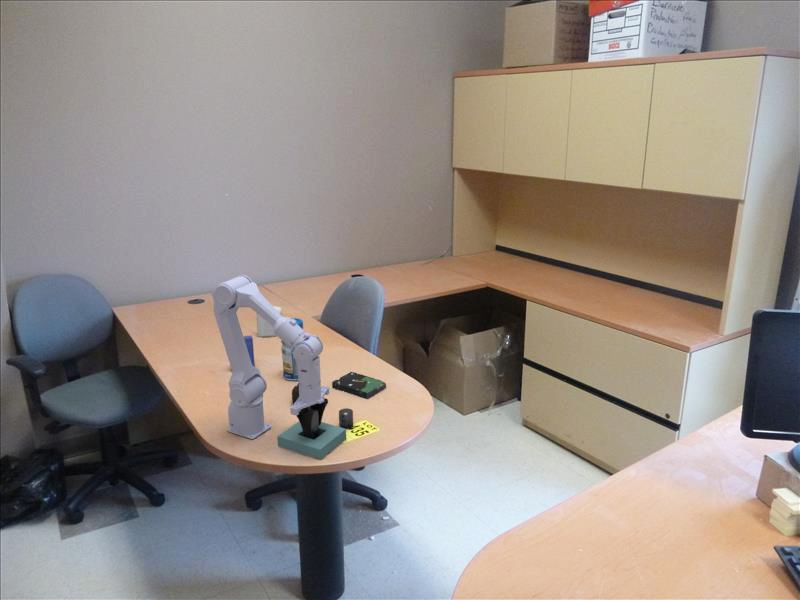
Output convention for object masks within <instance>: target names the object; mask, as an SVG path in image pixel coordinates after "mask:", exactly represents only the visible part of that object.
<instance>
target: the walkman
mask: <svg viewBox="0 0 800 600" xmlns="http://www.w3.org/2000/svg"><path fill="white" fill-rule="evenodd" d="M243 337H244V340H245V343H246V346H247V350H248V353H249V356H250V359H251V363H252V366H254V367H256V366H255V355H254V338H253V336H252V335H249V334H247V335H246V334H245V335H243Z"/></svg>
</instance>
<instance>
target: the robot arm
mask: <svg viewBox="0 0 800 600" xmlns="http://www.w3.org/2000/svg"><path fill="white" fill-rule="evenodd" d="M211 296H212V299H213V313H214V318H215V320H216V324H217V327H218V330H219V333H220V337H221V340H222V343H223V347H224V349H225V352H226V356H227V359H228V361H229V365H230V369H231V376H230V377H229V380H228V385H229V398H230V402H229V404H228V408H227V415H228V425H229V428H228V429H227V432H229V433H232V434H234V435H238V436H241V437H244V438H248V439H250V440H254V439H256V438H257V437H259V436H261V435H262V434H263V433H265V432H266V431H268V430H269V429H272V425H271V424H267V423H265V413H264V399H263V398H264V393H265V392H266V390H267V386H268V385H267V381H266V379H265V378H264V377H263V375H262V373H261V371H260V369H259V368H257V366H255V367H254V366H252V363H251V359H250V356H249V353H248V350H247V346H246V343H245V340H244V337H243V336H244V334H243V331H242V327H241V324H240V321H239V318H238V314H237V312H238V310H239V309H240V308H250V309H251V310H252V311H254V312H255V313H256V314H257V313H258V314H259V315H260V316H261V317H263V318H264V319H265V320H266V321H267V322H269V323H270V324H271V325H272V326H273V327H274V333H275V334H276V335H277V336H276V337H278V338H279V339H280V341H281V340H282V341H283V342H284V343H285V344H286V345H287V346H288V347H289V348H291V349H292V350H293V352H292V354H293V357H294V359H295V360H296V361H297V367H298V379H299V380H298V383H299V398H298V399H297V400H296V402H295V403H294V405H293V404H292V405H291V406H290V408H289V410H290V411H289V412H290V415H293V416H296V418H297V419H298V422H299V421H300V424H301V427H302V429H303V432H307V433H310V432H311V421H312V416H313V413H314V411H312V410H309V408H308V407H309V406H314V407H317V408H318V416H319V425H321V422H322V419H323V417H324V416H323V415H324V412H325V409H326V407H327V406H328V404H329V399H328V398H325V396H329V394H330V387H329V386H325V385H323V386H322V384H321V383H322V382H321V381H322V380H321V363H320V362H321V359H320V357H321V356H320V355H321V354H322V352H323V349H324V345H323V342H322V339H320V338H319V336H317V335H315V334H311V333H309V332H307V331H305V330H304V328H303V329H302V328H301V327H300V326H299V325H297V324H296V321H295V320H294V319H291V318H292V317H288V316H283V315H282V316H283V317H282V316H281V314H280V313H279V312H278V311H277V310H276V309H275V308H274V307H273V306H274V305H272V304H271V303H270V301H268V299H267V298H265V296H264V295H263V294H262V293H261V292H260V289H259V287H258V285H257V283H256V282H254V281H252V279H251V278H250V277H249V276H247V275H245V274H240V275H237V276H236V277H233V278H231V279H229V280H226V281H224V282H220V283H218V284H217V285H216V286H215V287H214V288H213V290H212V292H211Z"/></svg>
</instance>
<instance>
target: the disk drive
mask: <svg viewBox="0 0 800 600" xmlns="http://www.w3.org/2000/svg"><path fill="white" fill-rule="evenodd" d="M331 386H332V388H331V389H334V388H335V389H334V390H337V389H338V390H337V391H341V392H343V391H344V393H346V392H347V394H349V393H350V395H353V396H356V397H359V398H361V399H366V400H369V399H371V398H373V397H374V396H375V394H376V395H377V394H379V393H380V392H382V391H384V390H385V389H386V388H387V383H386V382H385V381H382V379H381V380H380V379H377V378H374V377H371V376H368V375H364V374H362V373H358V372H354V371H350V372H348V373H346V374H344V375H341V376H340V378H339V379H335V380H333V381H332V382H331Z"/></svg>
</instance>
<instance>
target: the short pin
mask: <svg viewBox="0 0 800 600" xmlns="http://www.w3.org/2000/svg"><path fill="white" fill-rule="evenodd" d="M338 424H339V426H338V427H341V428H344V429H346V430H351V429H352V428H353V427H354V410H353V409H351V408H341V409H340V410H338Z"/></svg>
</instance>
